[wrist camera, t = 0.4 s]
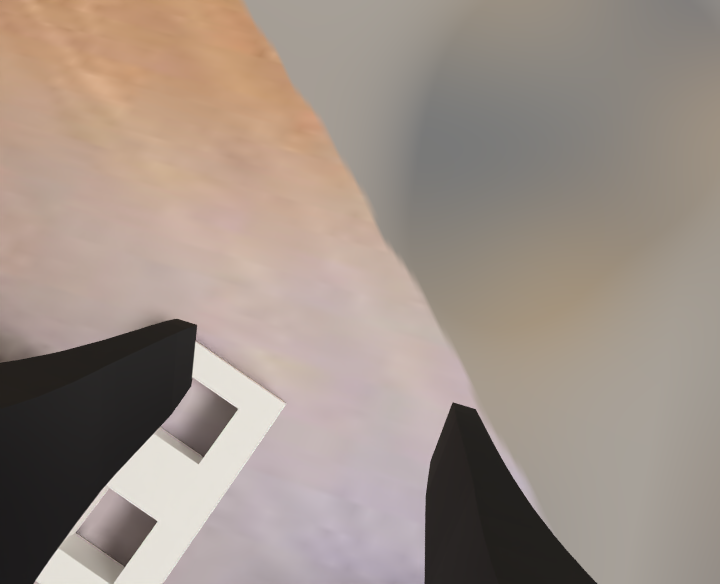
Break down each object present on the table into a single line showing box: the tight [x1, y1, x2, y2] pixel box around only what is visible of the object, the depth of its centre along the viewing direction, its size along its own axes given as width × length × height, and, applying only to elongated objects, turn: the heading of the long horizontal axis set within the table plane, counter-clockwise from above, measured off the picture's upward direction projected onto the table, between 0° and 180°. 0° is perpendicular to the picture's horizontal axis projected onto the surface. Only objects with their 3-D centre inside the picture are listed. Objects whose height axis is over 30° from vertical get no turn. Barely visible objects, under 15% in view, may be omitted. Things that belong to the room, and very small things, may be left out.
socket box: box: [36, 341, 287, 584], centre depth 34 cm, size 18×10×3 cm, turn 146°
